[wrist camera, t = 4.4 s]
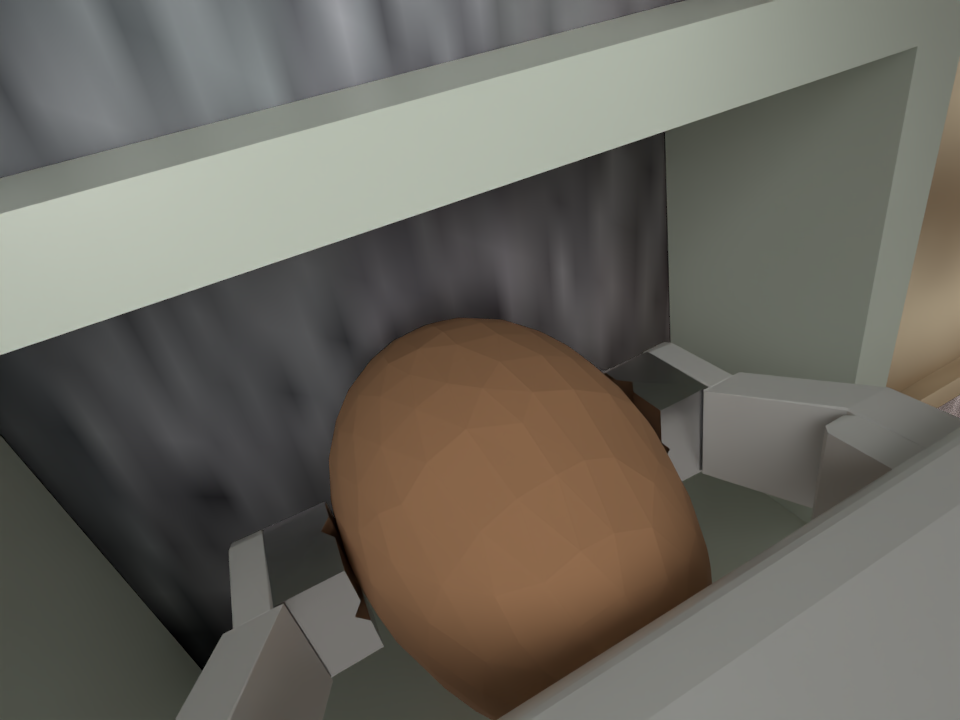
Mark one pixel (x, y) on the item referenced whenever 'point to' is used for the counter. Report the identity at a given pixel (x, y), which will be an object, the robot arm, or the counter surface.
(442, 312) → the counter surface
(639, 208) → the counter surface
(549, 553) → the egg
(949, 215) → the tray
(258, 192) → the bin
